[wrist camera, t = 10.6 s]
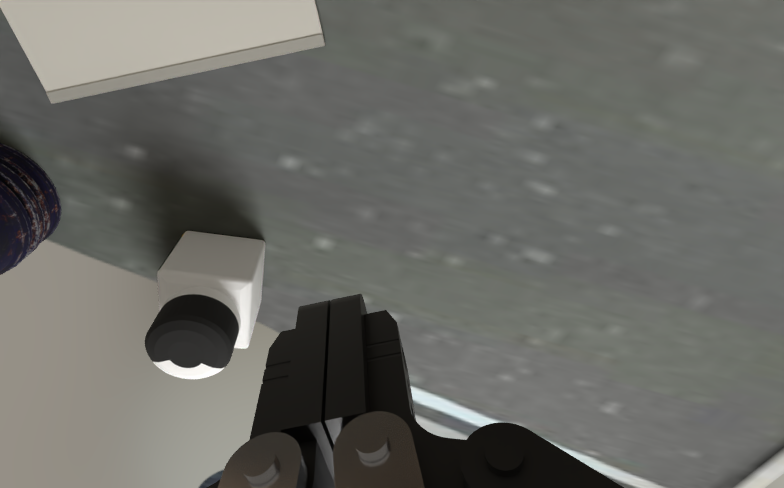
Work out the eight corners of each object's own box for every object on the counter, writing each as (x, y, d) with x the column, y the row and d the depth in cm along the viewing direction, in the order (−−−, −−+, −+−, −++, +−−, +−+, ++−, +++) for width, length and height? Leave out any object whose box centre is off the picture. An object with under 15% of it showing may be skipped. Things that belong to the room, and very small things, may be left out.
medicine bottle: (184, 228, 41) (128, 309, 30) (266, 239, 42) (239, 320, 31) (185, 294, 44) (135, 387, 34) (261, 301, 45) (236, 394, 35)
